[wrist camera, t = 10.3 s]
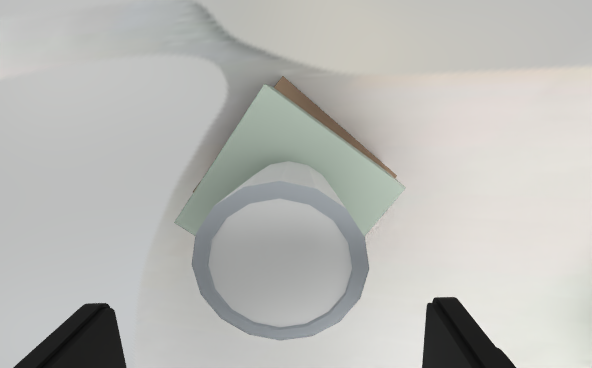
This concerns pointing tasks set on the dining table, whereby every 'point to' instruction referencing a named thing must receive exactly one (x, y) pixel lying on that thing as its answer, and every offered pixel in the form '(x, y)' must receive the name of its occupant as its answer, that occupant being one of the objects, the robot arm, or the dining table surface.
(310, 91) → the dining table surface
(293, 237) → the white cup
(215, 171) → the tower top block
